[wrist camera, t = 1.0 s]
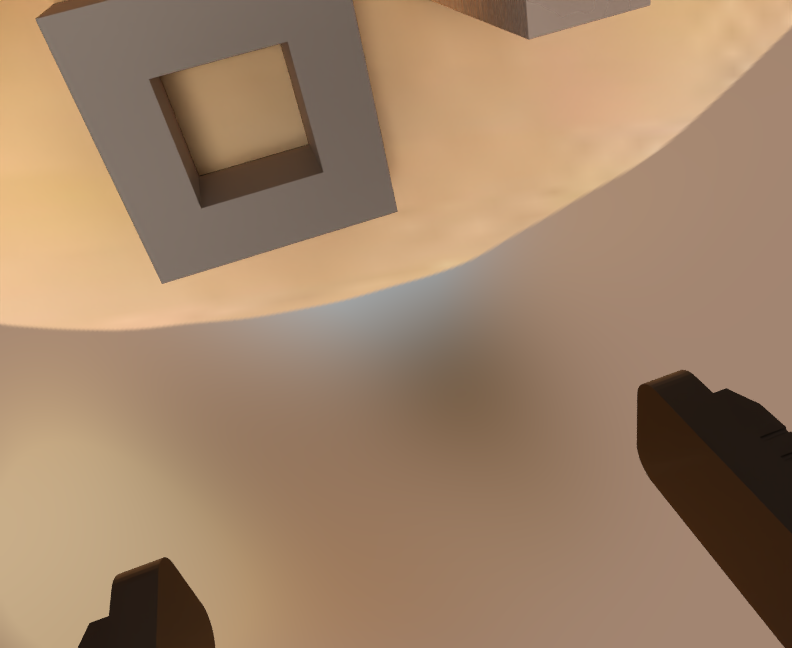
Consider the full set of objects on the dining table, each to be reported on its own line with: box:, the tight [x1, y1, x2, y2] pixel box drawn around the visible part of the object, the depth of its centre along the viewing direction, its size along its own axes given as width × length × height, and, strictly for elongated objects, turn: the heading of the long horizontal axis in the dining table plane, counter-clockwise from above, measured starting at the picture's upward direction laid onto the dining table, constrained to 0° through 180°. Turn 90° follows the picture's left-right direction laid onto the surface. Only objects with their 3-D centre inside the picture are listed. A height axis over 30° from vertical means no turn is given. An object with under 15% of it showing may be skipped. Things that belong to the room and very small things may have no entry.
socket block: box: [36, 0, 398, 284], centre depth 28 cm, size 11×11×4 cm
